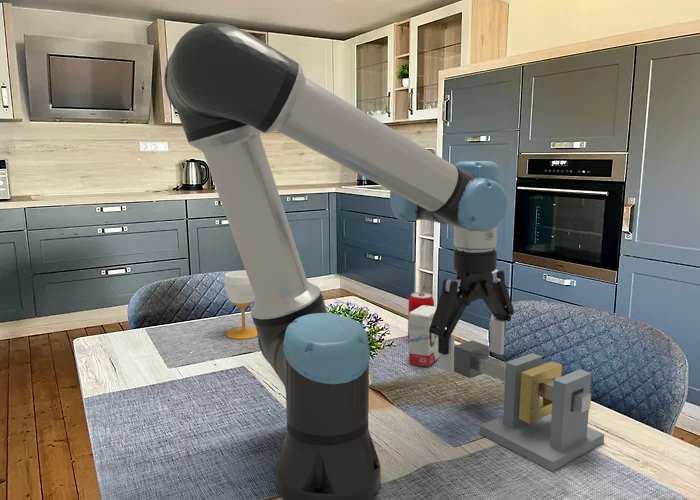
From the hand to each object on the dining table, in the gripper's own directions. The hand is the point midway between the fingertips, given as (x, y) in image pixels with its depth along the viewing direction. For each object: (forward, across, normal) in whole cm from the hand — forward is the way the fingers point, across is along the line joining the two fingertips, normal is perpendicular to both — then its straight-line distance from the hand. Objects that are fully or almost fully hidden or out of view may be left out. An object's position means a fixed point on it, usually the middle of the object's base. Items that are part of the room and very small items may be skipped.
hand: (472, 361), depth 103 cm
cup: (+8, -16, +64) cm, 66 cm away
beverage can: (+9, +16, +32) cm, 37 cm away
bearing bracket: (+9, -1, -15) cm, 18 cm away
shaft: (+2, 0, -10) cm, 11 cm away
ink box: (+9, +8, +22) cm, 25 cm away
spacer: (+5, 0, -15) cm, 16 cm away
